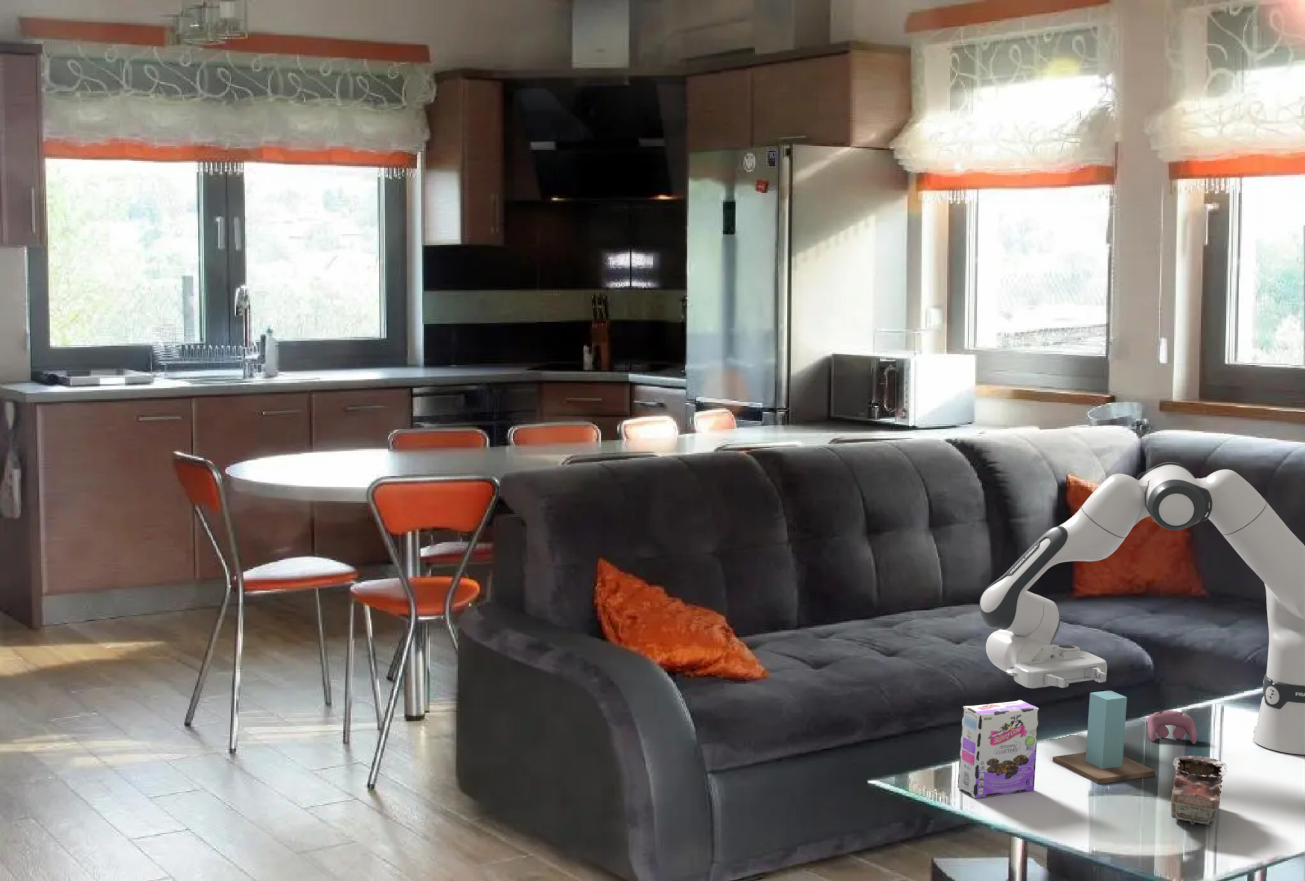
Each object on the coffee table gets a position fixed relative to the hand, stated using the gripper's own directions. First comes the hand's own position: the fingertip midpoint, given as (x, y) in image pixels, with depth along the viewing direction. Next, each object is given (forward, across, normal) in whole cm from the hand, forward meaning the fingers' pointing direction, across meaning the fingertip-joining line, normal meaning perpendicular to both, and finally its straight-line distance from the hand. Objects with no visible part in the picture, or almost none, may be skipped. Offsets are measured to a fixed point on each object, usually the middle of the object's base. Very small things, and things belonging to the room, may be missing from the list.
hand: (1084, 681), depth 340 cm
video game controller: (0, +24, +16) cm, 28 cm away
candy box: (+13, -31, +14) cm, 36 cm away
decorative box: (+40, -4, +16) cm, 43 cm away
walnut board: (+10, -3, +15) cm, 18 cm away
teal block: (+10, -3, +14) cm, 17 cm away
